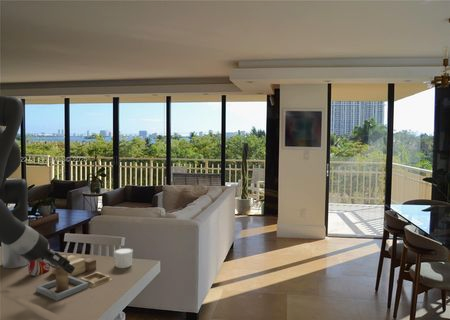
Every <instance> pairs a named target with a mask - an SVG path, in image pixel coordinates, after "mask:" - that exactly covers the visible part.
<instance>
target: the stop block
mask: <svg viewBox="0 0 450 320" xmlns="http://www.w3.org/2000/svg"><path fill="white" fill-rule="evenodd" d="M72 255H73V256H76V257H80V258H83V259H85V267H86V271H85V272H88V273H90V272H93V271H95V270H97V259H95V258H91V257H88V256H85V255H81V254H79V253H73V254H72Z"/></svg>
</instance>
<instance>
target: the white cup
mask: <svg viewBox="0 0 450 320" xmlns="http://www.w3.org/2000/svg"><path fill="white" fill-rule="evenodd" d="M133 252H134V249H133V248H129V247H127V248H126V247H124V248H123V247H122V248H118V249H115V250H114V251H113V255H114V263H115V267H116V268H118V269H125V268H129V267H131V266H132V264H133Z"/></svg>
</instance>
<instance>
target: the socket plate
mask: <svg viewBox="0 0 450 320" xmlns="http://www.w3.org/2000/svg"><path fill="white" fill-rule="evenodd" d="M79 279H80V280H83V281H85V282H88V285H89V287H90V288H92V289H93V288H96V287H98V286H101V285H103V284H104V283H107V282H110V281H112V280H113V278H111V275H108V274H105V273H102V272H100V271H95V272H93V273H90V274H88V275H84V276H82V277H80V278H79ZM89 287H88V288H89Z"/></svg>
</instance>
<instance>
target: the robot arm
mask: <svg viewBox="0 0 450 320" xmlns="http://www.w3.org/2000/svg"><path fill="white" fill-rule="evenodd" d="M23 116H24V104H23V100H22V99H21V98H19V97H16V96H10V95H5V94H4V95H3V94H0V243H1V244H0V245H1V264H2V268H4V269H17V268H22V267H25V266H27V265H28V261H34V260H39V261H41V262H43V263H47V264H48V265H50V268H52V267H53V268H55V266H58V267H60V268H61V269H63V270H65V271H66V272H68V273H69V274H71V273H72V272H73V271H74V269H75V267H73V266H72V265H71V264H69V263H70V261H69V260H67V259H65V258H64V257H62V256H61V254H60V253H59V252H56V251H55V250H53V249H52V248H50V247H49V249H48V244H49V245H50V243H49V240H48V239H47V238H46V237H44V236H43V235H42V234H41V233H39V232H38V231H37V230H35V229H34V228H33V227H31V226H29V209H28V207H29V206H28V205H29V204H28V201H29V200H28V196H29V186H28V185H29V184H28V182H27V180H26V179H24V178H13V179H11V178H10V179H9V177H11V176H12V175H13V174H14V173H15V172H16V171H17V170H18V169H19V168H20V165H21V162H22V158H21V156H22V154H21V148H20V146H19V144H18V142H17V141H16V138H17V136H18V133H19V131H20V128H21V125H22V122H23ZM2 127H5V128H4V129H3V128H2ZM8 204H9V205H10V204H12V205H13V204H18V205H17V206H16V207H14V208H12V209H11V210H10V208H9V207H8V206H7V205H8ZM62 262H63V263H62Z"/></svg>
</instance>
